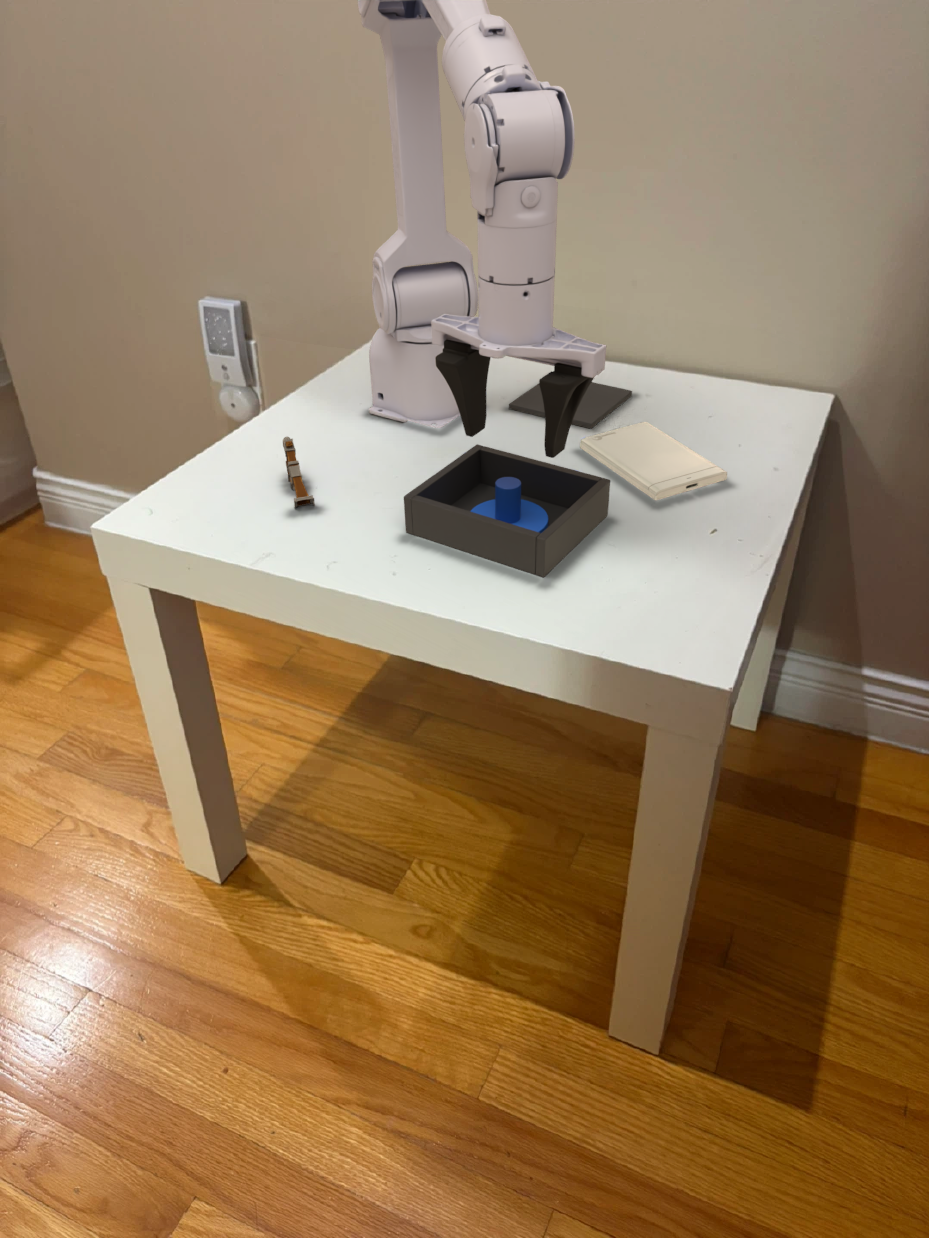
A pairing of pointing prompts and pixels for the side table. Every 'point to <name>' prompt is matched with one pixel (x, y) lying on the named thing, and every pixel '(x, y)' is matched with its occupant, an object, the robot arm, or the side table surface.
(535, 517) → the lid
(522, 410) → the mat
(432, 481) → the tray
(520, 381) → the side table surface
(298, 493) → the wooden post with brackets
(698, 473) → the hard drive
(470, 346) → the robot arm
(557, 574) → the side table surface
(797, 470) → the side table surface
